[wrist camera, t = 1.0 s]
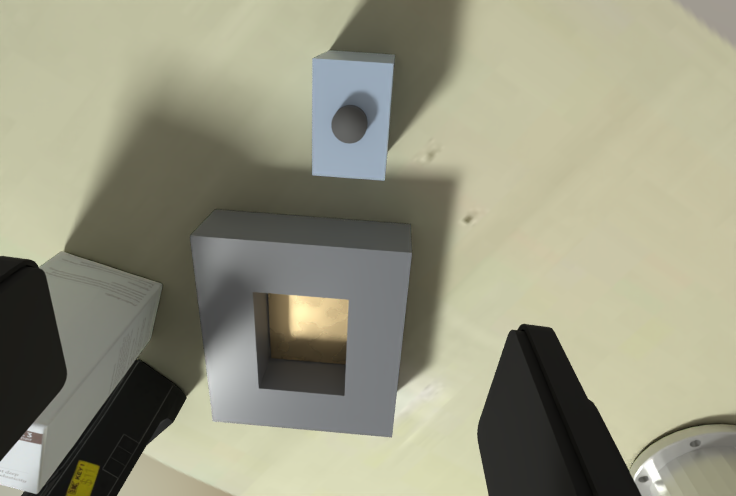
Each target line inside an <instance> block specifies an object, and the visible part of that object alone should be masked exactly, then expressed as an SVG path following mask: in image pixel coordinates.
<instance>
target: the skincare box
mask: <svg viewBox="0 0 736 496" xmlns="http://www.w3.org/2000/svg"><path fill="white" fill-rule="evenodd" d="M39 268H40V269H42V270H43V271H44V272H45V274H46V277H47V282H48V286H49V291H50V296H51V300H52V305H53V309H54V314H55V318H56V323H57V327H58V332H59V336H60V341H61V345H62V350H63V354H64V359H65V363H66V368H67V379H66V382H65V384H64V386H63V388H62V389H61V391H60V392H59V393H58V394H57V396H56V397H55V398H54V399H53V400H52V401H51V403H50V404H49V405H48V406H47V407H46V409H45V410H44V411H43V412H42V413H41V414H40V416H39V417H38V418H37V419H36V420H35V421H34V423H33V424H32V425H31V426H30V427H29V429H28V430H27V431H26V432H25V433H24V434H23V436H22V437H21V438H20V439H19V440H18V442H17V443H16V444H15V445H14V446H13V447H12V449H11V450H10V451H9V452H8V453H7V454H6V456H5V457H4V458H3V459H2V460H1V462H0V484H1V485H4V486H8V487H12V488H16V489H19V490H23V491H26V492H30V493H34V494H38V493H39V491H40V490H41V489H42V487H43V486H44V485H45V483H46V482H47V481H48V479H49V478H50V477H51V475H52V474H53V473H54V471H55V470H56V469H57V467H58V466H59V464H60V463H61V462H62V460H63V459H64V458H65V456H66V455H67V454H68V452H69V451H70V450H71V448H72V447H73V446H74V444H75V443H76V442H77V440H78V439H79V437H80V436H81V434H82V433H83V432H84V430H85V429H86V427H87V426H88V424H89V423H90V422H91V420H92V419H93V418H94V416H95V415H96V413H97V412H98V411H99V409H100V408H101V406H102V405H103V404H104V402H105V401H106V400H107V398H108V397H109V396H110V394H111V393H112V391H113V390H114V389H115V387H116V386H117V385H118V383H119V382H120V381H121V379H122V378H123V376H124V375H125V374H126V372H127V371H128V369H129V368H130V367H131V365H132V364H133V363H134V361H135V360H136V358H137V357H138V356H139V354H140V353H141V352H142V350H143V349H144V347H145V346H146V345H147V343H148V342H149V341H150V339H151V336H152V331H153V327H154V322H155V317H156V313H157V309H158V304H159V300H160V295H161V291H162V287H163V285H162V284H161V283H158V282H155V281H152V280H149V279H146V278H143V277H140V276H136V275H133V274H130V273H127V272H124V271H121V270H118V269H115V268H112V267H109V266H106V265H103V264H100V263H97V262H93V261H90V260H87V259H84V258H80V257H77V256H75V255H72V254H69V253H66V252H63V251H61V252H59V253H58V254H57V255H55V256H54V257H52V258H51V259H50V260H48V261H47V262H45V263H44V264H43V265H41V266H40V267H39Z"/></svg>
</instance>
